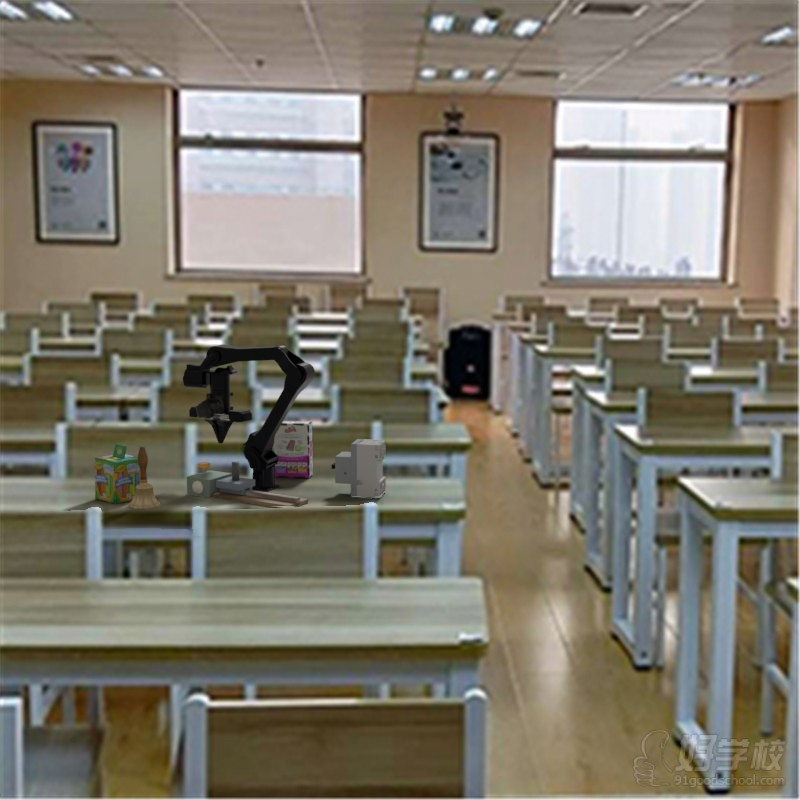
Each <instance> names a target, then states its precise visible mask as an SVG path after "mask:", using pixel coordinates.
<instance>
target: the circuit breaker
mask: <svg viewBox="0 0 800 800" xmlns="http://www.w3.org/2000/svg"><path fill="white" fill-rule="evenodd" d="M386 454H387V446H386V440H385V439H384V440H383V439H369V438H366V439H365V438H357V439H355V441H353V442H352V443H350V451H340V452H339V453H338V454H337V455H336V456H335V457H334V458H335V460H334V463H332V464H331V465H330V466H331V470H335V471H334V481H335V482H334V483H335V484H341V485H342V484H343V485H344V484H345V485H350V498H353V497H352V496H361V497H375V496H380V495H381V494H383V492H384V491H385V492H386V487H387V483H386V482H387V481H386V479H387V477H386V476H384V475H383V467H384V466H383V465H384V464H383V463H384V462H383V460H385V456H386Z"/></svg>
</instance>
